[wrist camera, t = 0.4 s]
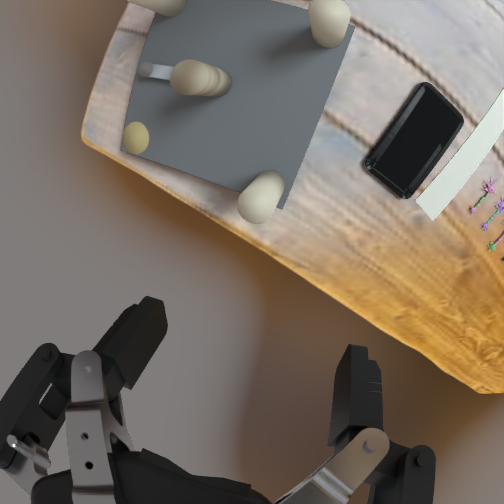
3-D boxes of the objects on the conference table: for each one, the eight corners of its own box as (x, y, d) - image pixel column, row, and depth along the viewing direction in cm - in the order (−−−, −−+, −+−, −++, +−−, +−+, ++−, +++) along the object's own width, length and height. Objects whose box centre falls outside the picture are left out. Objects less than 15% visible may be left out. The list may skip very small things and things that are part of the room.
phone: (362, 165, 30) (424, 78, 22) (361, 164, 31) (421, 79, 23) (407, 203, 31) (467, 120, 23) (405, 200, 32) (463, 120, 24)
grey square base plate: (174, -3, 24) (129, -25, 14) (352, 33, 23) (365, 2, 13) (132, 146, 37) (82, 163, 28) (285, 201, 36) (270, 238, 27)
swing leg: (140, 81, 28) (100, 81, 22) (146, 57, 26) (107, 52, 20) (226, 99, 28) (198, 98, 21) (235, 72, 26) (209, 62, 19)
